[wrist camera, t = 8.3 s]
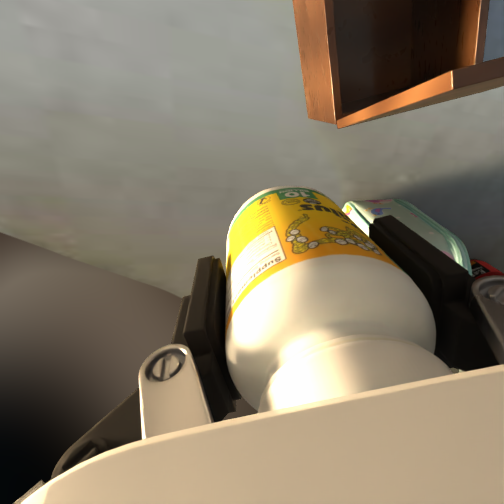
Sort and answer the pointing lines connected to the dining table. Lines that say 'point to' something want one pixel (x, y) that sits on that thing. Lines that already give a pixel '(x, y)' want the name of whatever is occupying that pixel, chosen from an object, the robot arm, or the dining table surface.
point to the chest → (381, 48)
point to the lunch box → (409, 225)
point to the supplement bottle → (318, 306)
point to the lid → (435, 91)
